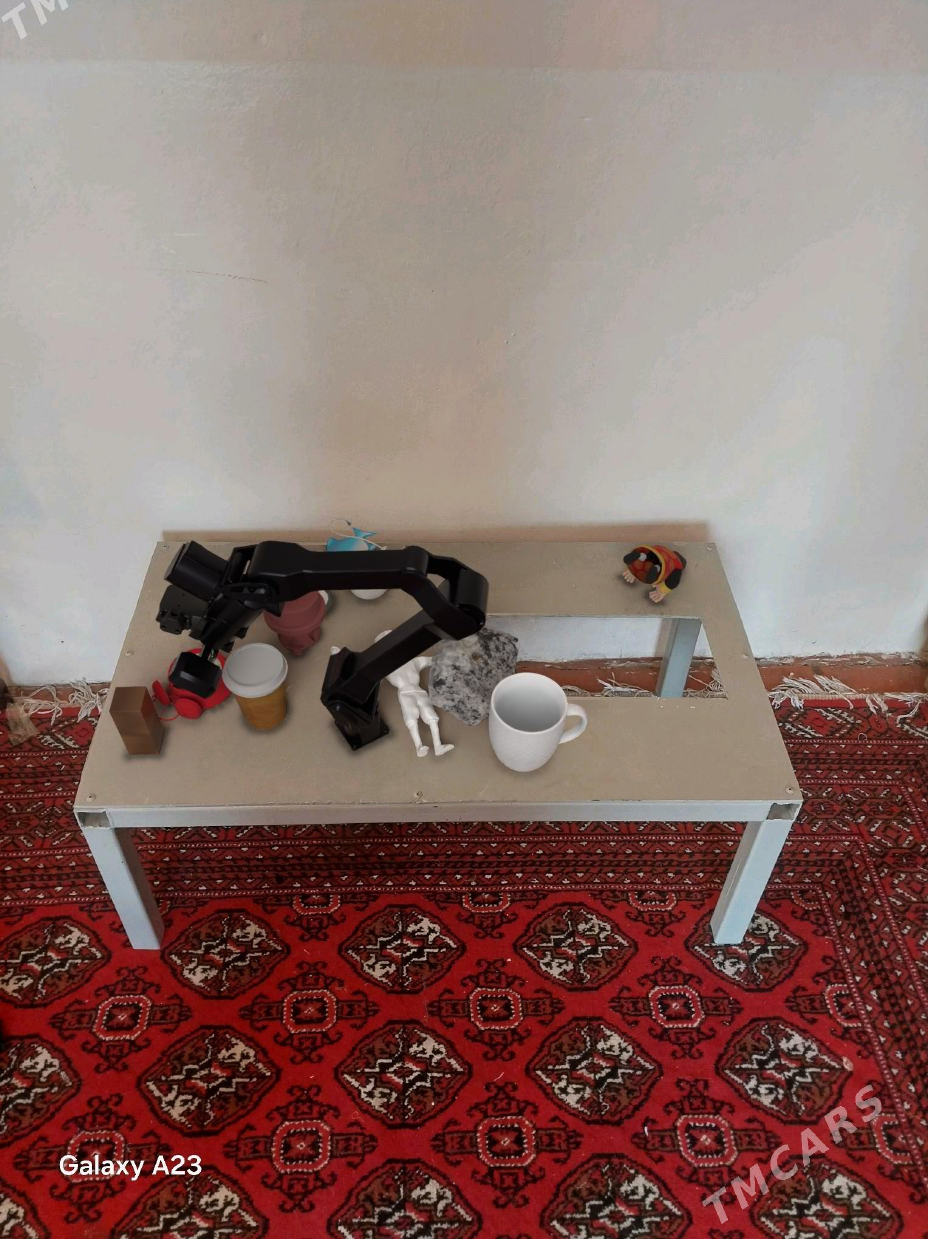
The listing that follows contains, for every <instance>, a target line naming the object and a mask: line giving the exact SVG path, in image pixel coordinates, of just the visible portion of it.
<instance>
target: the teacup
mask: <svg viewBox="0 0 928 1239" xmlns="http://www.w3.org/2000/svg"><path fill="white" fill-rule="evenodd" d="M387 590H388V589H376V590H350V591H351V592H352V594H353V595H354V596H356V597H357V598H360V599H363V600H374V599H377V598H380V597H381V596H382V595H384V594H385V593H386V592H387Z"/></svg>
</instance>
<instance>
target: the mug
mask: <svg viewBox="0 0 928 1239" xmlns="http://www.w3.org/2000/svg"><path fill="white" fill-rule="evenodd" d="M572 716H578V717H580V719H579V721H578V723H576V724H575V725H574V726H573V727H570V729H567V730H566V731H564V729H565V725H566V723H567V722H566V721H567V717H572ZM588 719H589V718H588V715H587V712H586V710H585V709H584V708H583V707H582V706H581V705H580V704H576V703H571V702H568V698H567V694H566V692H565V691H564V689H563V688H562V687H561V686H560V685H559V683H557V682H556V681H555V680H553V679H551V678H550V677H548V676H546V675H544V674H541V673H540V674H539V673H535V672H518V673H515V674H514V675H511V676H508V677H506V678H505V679H503V680H502V681H500V682H499V683H498V684H497V686H496V687H495V688H494V690H493V693H492V696H491V703H490V711H489V716H488V736H489V741H490V743H491V747H492V750H493V752H494V754H495V756H497V759H498V761H500V762H501V763H502V764H503V765H504V766H505V767H506V768H508V769H510V770H512V771H515V772H518V773H519V772H520V773H528V772H532V771H535V770H537V769H539V768H540V767H543V766H544V765H545V764H546V763H547V762H548V761H549V760H550V759H551V758H552V757H553V755H554V753H555V752H556V750H557V748H558V747H559V745H560V744H565V743H568V742H570V741H572V740H574V739H576V738H577V737H579V736H581V735H582V734H583V732H584V731H585V730H586V729H587V726H588V722H589V720H588Z"/></svg>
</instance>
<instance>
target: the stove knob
mask: <svg viewBox="0 0 928 1239" xmlns="http://www.w3.org/2000/svg"><path fill="white" fill-rule="evenodd" d="M318 593H320V594H321V595H322V597H323V598H324V601H325V605H326V614H327V613H328V612H329V611H330V610H331V609H332V607H333V604H334V600H333V596H332V594H331V593H330V590H325V591H318Z"/></svg>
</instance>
